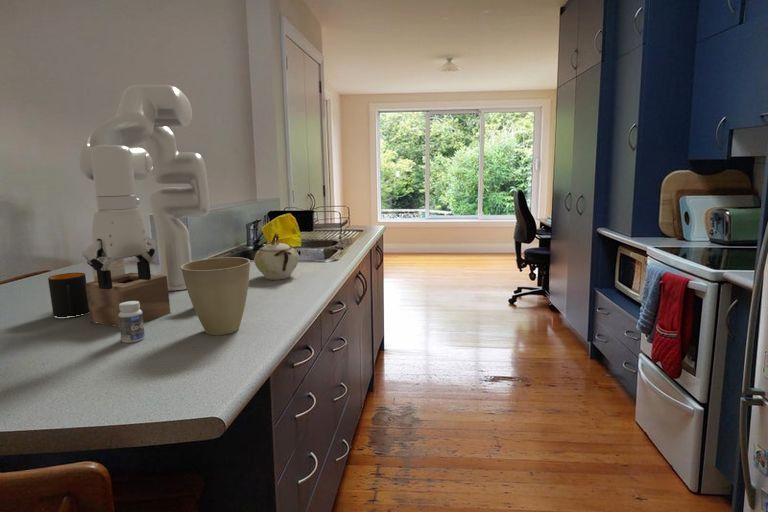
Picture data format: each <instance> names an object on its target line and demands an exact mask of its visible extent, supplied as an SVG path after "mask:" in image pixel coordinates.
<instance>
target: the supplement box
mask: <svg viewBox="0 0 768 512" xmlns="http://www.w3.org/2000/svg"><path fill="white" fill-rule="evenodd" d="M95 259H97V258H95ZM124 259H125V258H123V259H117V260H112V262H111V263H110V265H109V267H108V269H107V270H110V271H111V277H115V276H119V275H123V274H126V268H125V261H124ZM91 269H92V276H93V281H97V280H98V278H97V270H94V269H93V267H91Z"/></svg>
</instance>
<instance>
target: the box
mask: <svg viewBox="0 0 768 512" xmlns="http://www.w3.org/2000/svg"><path fill="white" fill-rule="evenodd" d="M150 274H151V279H150V280H140V279H139V278H138V272H128V273H125V274H123V275H119V276H115V277H111V279H112V289H109V290H108V289H100V288H99V284H98V280H97V281H94V280H93V281H89V282H86V283H85V284H86V291H87V298H88V306H89V313H88V314H89V320H90V323H91V322H98V323H103V324H102V325H105V324H108V325H107V326H111V325H115V326H114V327H118V326H120V325H119V316H118V315H119V313H120V312H121V311H120V309H119V304H121V303H123V302H128V301H138V302H139V304H140V310H141V311H142V314H143V323H146V322H148V321H151V320H154V319H158V318H161V317H163V316H166V315H169V314H171V304H170V297H169V296H170V294H169V291H168V284H167V276H163V275H157V274H152V273H150ZM98 323H97V324H98Z"/></svg>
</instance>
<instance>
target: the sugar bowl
mask: <svg viewBox="0 0 768 512" xmlns="http://www.w3.org/2000/svg"><path fill="white" fill-rule="evenodd" d="M299 260H300V255H299V253H298V251H297V250H296V249H295V248H294V247H293V246H292V245H290V244H289V245H288V244H286V243H281V242H280V240H279V234H278V233H275V234H274V235H273V236H272V240H271V242H267V243H266V244H265V245H264V246H262V247H260V248H259V249H258V250H257V252H256V253H255V254H254V260H253V261H254V265H255V267H256V268H257V269H258V271H259V272H260V273H261V274H262V275H263V277H265V279H266V280H271V281H273V280H274V281H275V280H277V281H278V280H284V279H285V280H286V279H289V278H291V276H292V274H293V272H294V271H295V269H296V267H297V266H298V264H299V262H300V261H299Z"/></svg>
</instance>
